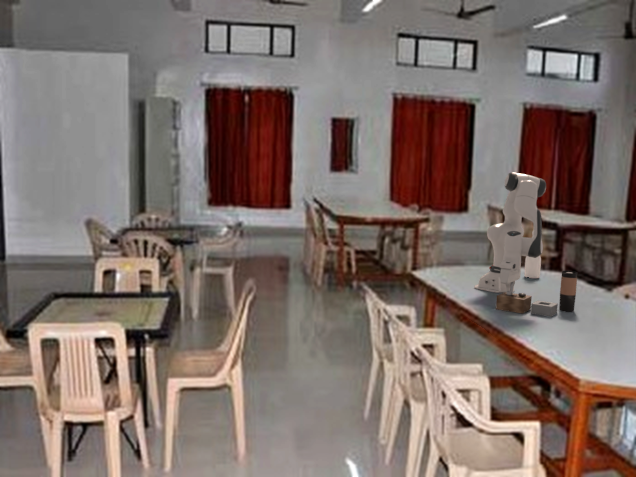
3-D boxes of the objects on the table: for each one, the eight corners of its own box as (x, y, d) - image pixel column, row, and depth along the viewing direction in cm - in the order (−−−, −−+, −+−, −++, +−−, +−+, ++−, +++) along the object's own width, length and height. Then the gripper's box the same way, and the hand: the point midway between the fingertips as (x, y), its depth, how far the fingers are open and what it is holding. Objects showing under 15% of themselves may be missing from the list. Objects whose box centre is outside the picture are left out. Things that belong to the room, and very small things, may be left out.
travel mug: (574, 309, 366) (577, 271, 363) (574, 312, 359) (577, 273, 356) (558, 308, 368) (561, 270, 366) (558, 311, 361) (561, 272, 358)
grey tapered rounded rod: (504, 308, 363) (506, 281, 361) (506, 307, 365) (508, 280, 363) (510, 309, 361) (512, 282, 359) (512, 308, 364) (514, 281, 362)
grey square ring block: (530, 313, 354) (531, 303, 353) (537, 309, 362) (537, 300, 361) (550, 316, 348) (551, 306, 348) (556, 313, 356) (557, 303, 356)
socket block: (495, 309, 361) (496, 295, 360) (504, 305, 371) (505, 292, 370) (522, 313, 353) (523, 299, 352) (530, 309, 363) (531, 295, 362)
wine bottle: (541, 279, 450) (545, 232, 446) (526, 278, 450) (530, 231, 446) (537, 276, 459) (540, 230, 455) (522, 275, 459) (525, 229, 455)
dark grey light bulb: (516, 309, 359) (517, 293, 358) (518, 308, 362) (519, 292, 361) (523, 310, 357) (524, 294, 356) (525, 309, 360) (526, 293, 359)
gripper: (512, 260, 370) (510, 286, 372) (498, 265, 354) (496, 292, 355) (524, 261, 367) (522, 287, 369) (511, 266, 350) (509, 294, 352)
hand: (509, 290), depth 362 cm, fingers closed on grey tapered rounded rod, 3 cm apart
